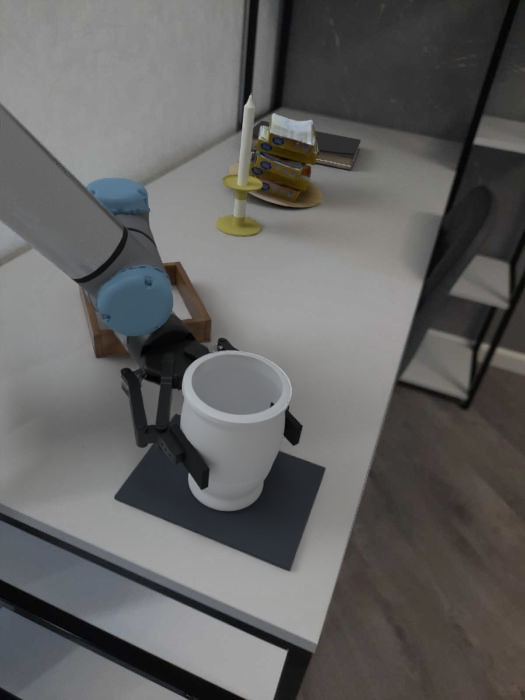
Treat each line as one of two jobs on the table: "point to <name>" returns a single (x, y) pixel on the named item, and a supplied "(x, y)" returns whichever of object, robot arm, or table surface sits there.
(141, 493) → the mat
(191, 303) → the wooden square frame
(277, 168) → the snack boxes on plate
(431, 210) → the table surface
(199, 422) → the jar
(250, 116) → the candle
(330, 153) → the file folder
